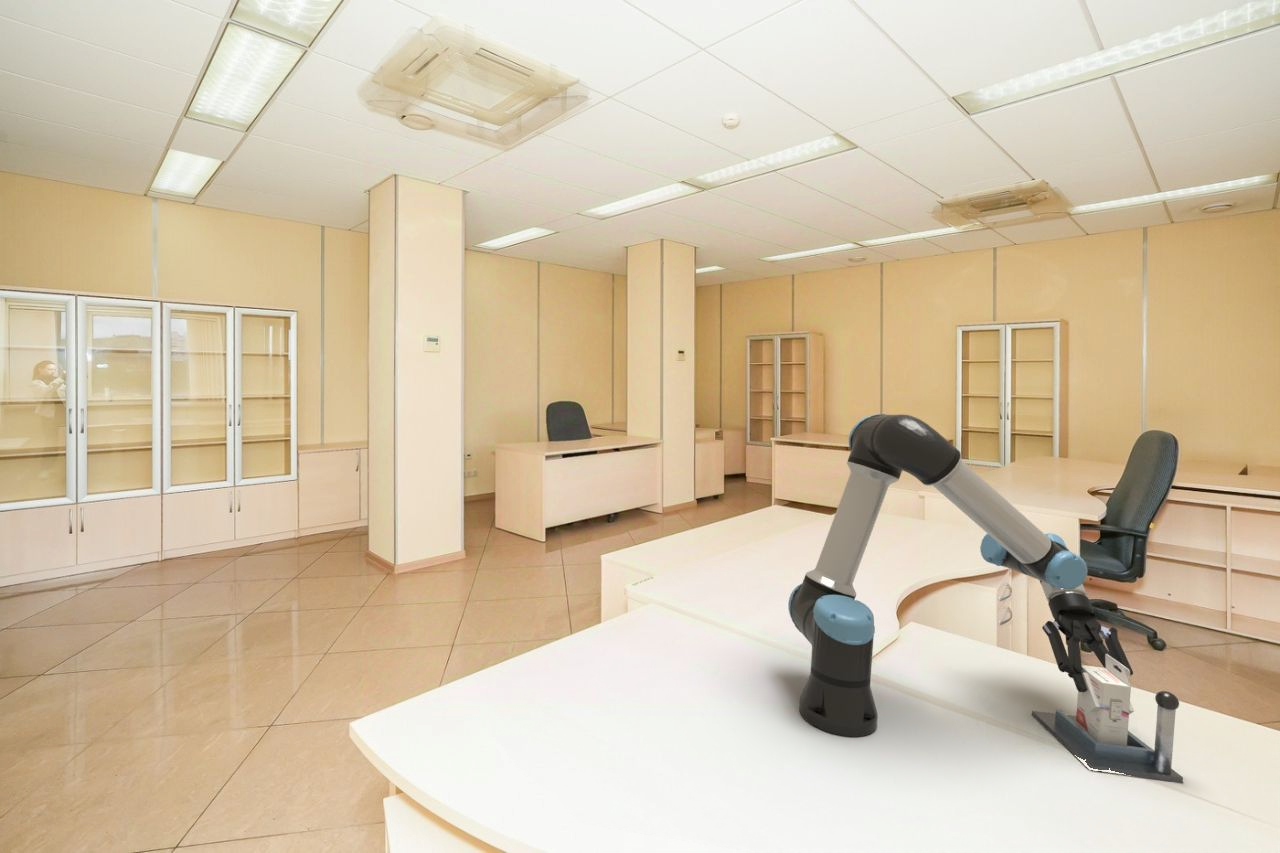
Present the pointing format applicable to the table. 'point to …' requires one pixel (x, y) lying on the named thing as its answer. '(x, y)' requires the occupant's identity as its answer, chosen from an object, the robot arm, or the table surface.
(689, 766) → the table surface
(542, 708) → the table surface
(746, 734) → the table surface
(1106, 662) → the ink cartridge box
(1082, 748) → the keeper bracket
